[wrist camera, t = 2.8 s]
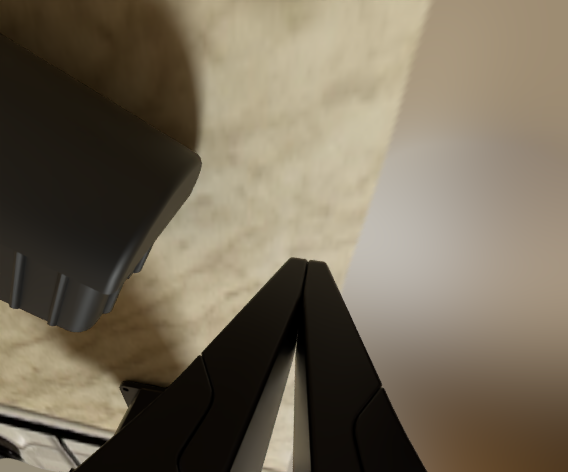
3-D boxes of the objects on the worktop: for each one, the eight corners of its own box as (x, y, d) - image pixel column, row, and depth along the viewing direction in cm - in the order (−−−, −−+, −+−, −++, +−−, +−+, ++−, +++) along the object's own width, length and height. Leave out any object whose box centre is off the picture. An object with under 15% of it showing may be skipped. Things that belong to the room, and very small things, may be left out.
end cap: (227, 126, 13) (140, 227, 8) (169, 241, 17) (85, 359, 12) (-42, -47, 11) (-402, -67, 6) (-36, 130, 15) (-245, 212, 10)
